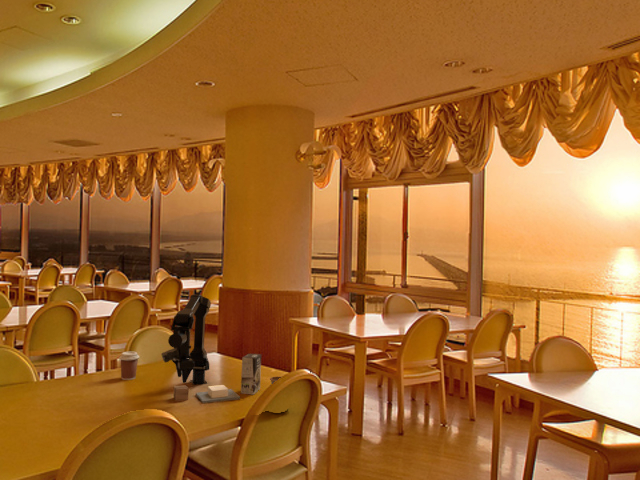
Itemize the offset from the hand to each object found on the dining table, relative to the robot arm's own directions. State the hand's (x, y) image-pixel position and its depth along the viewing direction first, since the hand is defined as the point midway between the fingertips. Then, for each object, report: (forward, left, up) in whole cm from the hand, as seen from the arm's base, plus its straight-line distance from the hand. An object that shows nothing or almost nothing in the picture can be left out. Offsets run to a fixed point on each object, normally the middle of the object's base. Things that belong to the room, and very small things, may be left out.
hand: (181, 379), depth 218 cm
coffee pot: (+28, +37, -8) cm, 47 cm away
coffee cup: (-40, -16, -8) cm, 44 cm away
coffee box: (0, +31, -8) cm, 32 cm away
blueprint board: (+3, +15, -8) cm, 17 cm away
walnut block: (0, 0, -8) cm, 8 cm away
